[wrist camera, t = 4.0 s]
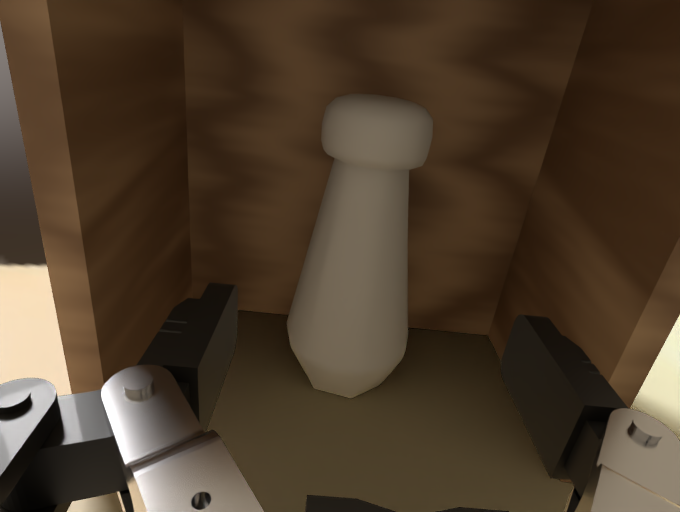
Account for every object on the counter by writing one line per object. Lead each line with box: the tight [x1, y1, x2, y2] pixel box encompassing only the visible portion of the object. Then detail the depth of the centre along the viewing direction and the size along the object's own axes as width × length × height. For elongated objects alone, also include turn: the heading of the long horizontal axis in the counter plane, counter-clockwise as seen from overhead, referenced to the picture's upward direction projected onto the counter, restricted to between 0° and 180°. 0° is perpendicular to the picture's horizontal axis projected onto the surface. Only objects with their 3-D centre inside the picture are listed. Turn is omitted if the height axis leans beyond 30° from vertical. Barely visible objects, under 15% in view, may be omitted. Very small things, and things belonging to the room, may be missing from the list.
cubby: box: [0, 0, 680, 482], centre depth 18 cm, size 20×11×20 cm, turn 90°
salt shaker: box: [287, 94, 433, 398], centre depth 19 cm, size 6×6×13 cm
